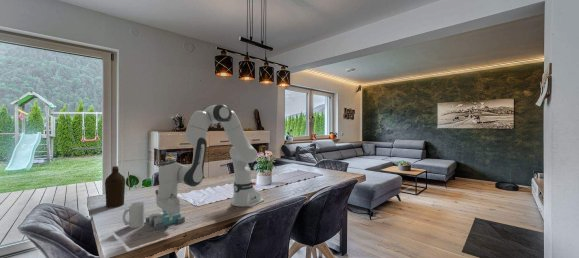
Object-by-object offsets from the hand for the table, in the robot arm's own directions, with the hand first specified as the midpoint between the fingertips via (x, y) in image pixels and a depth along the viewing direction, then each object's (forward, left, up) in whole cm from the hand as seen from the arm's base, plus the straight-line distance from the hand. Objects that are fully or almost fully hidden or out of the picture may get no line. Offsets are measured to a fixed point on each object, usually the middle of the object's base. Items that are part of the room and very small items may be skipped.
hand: (168, 218), depth 127 cm
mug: (+13, -9, -4) cm, 16 cm away
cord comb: (0, -3, -4) cm, 5 cm away
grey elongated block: (0, -7, -2) cm, 7 cm away
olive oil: (+9, -56, -4) cm, 57 cm away
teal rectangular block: (0, 0, -2) cm, 3 cm away
